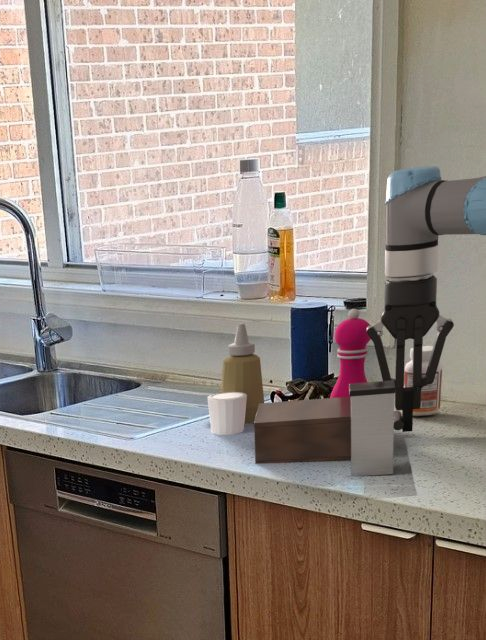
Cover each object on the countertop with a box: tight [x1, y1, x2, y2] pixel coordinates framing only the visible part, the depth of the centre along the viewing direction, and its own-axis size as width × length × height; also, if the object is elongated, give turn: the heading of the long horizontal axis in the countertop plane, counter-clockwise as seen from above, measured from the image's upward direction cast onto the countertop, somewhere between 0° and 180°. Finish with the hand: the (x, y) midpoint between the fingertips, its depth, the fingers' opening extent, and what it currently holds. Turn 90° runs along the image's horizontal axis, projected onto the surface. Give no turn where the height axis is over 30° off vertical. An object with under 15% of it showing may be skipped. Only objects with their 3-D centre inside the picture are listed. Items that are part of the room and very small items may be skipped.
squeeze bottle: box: [219, 322, 265, 425], centre depth 222 cm, size 8×8×18 cm
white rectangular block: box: [349, 380, 396, 477], centre depth 183 cm, size 6×5×13 cm
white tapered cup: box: [207, 392, 247, 436], centre depth 218 cm, size 7×7×7 cm
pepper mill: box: [329, 308, 371, 398], centre depth 208 cm, size 7×7×20 cm
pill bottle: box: [404, 345, 443, 416], centre depth 213 cm, size 6×6×11 cm
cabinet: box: [253, 397, 351, 465], centre depth 199 cm, size 16×15×7 cm
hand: (407, 429), depth 195 cm, fingers closed
